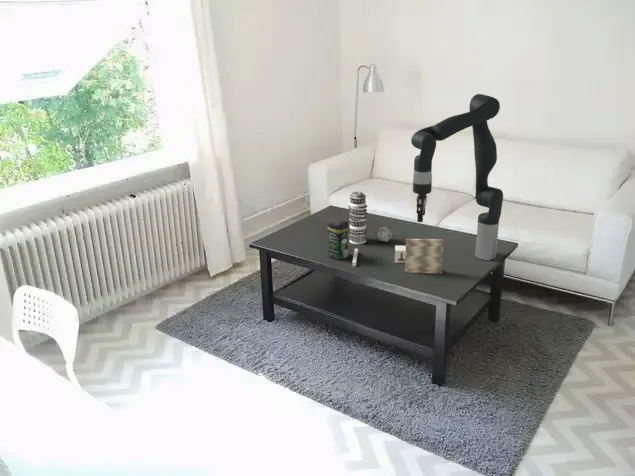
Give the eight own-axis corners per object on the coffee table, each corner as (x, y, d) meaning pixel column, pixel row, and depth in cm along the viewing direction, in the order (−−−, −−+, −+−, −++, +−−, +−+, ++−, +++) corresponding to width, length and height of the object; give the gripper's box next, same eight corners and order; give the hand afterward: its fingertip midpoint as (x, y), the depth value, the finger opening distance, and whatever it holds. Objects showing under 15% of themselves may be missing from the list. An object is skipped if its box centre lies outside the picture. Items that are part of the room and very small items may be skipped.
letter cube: (394, 257, 280) (395, 245, 278) (407, 257, 279) (408, 245, 277) (394, 262, 274) (395, 250, 272) (408, 263, 274) (408, 250, 271)
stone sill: (354, 252, 286) (354, 248, 286) (357, 252, 286) (357, 248, 285) (352, 266, 272) (352, 262, 271) (355, 266, 271) (355, 262, 271)
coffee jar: (325, 255, 284) (324, 218, 277) (337, 251, 288) (336, 214, 282) (339, 261, 277) (338, 223, 270) (351, 256, 282) (351, 219, 275)
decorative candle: (367, 237, 304) (367, 190, 295) (366, 244, 295) (367, 196, 286) (349, 237, 305) (348, 190, 295) (348, 244, 296) (347, 195, 287)
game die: (387, 247, 300) (400, 232, 297) (380, 247, 293) (393, 232, 290) (375, 236, 304) (387, 221, 301) (368, 235, 296) (380, 220, 293)
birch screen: (405, 272, 264) (406, 240, 258) (404, 268, 268) (405, 237, 262) (442, 273, 262) (443, 241, 256) (441, 269, 266) (443, 238, 260)
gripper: (430, 186, 237) (428, 224, 243) (433, 176, 250) (431, 213, 256) (410, 185, 239) (410, 223, 245) (415, 175, 252) (414, 212, 258)
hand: (421, 218), depth 251 cm, fingers open, 8 cm apart
